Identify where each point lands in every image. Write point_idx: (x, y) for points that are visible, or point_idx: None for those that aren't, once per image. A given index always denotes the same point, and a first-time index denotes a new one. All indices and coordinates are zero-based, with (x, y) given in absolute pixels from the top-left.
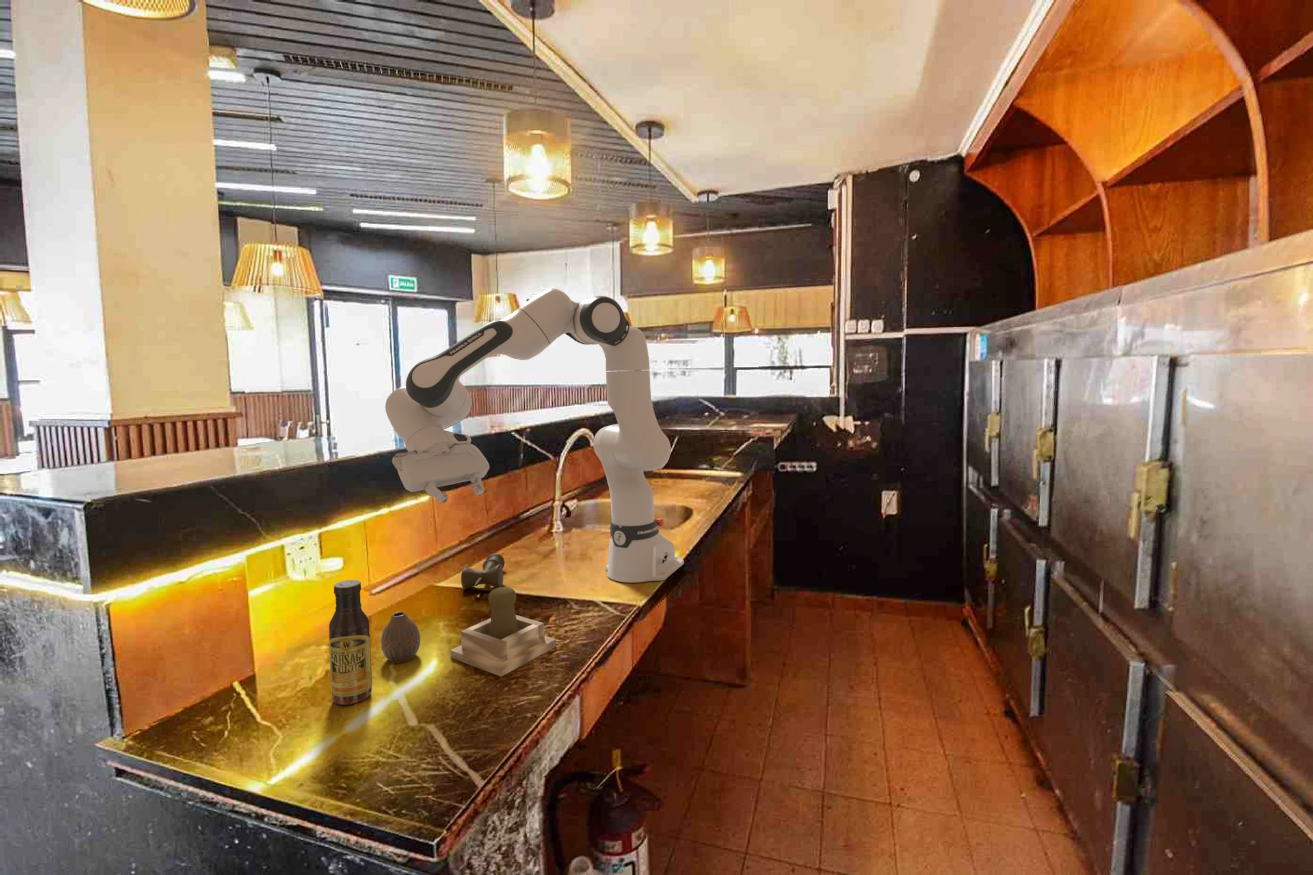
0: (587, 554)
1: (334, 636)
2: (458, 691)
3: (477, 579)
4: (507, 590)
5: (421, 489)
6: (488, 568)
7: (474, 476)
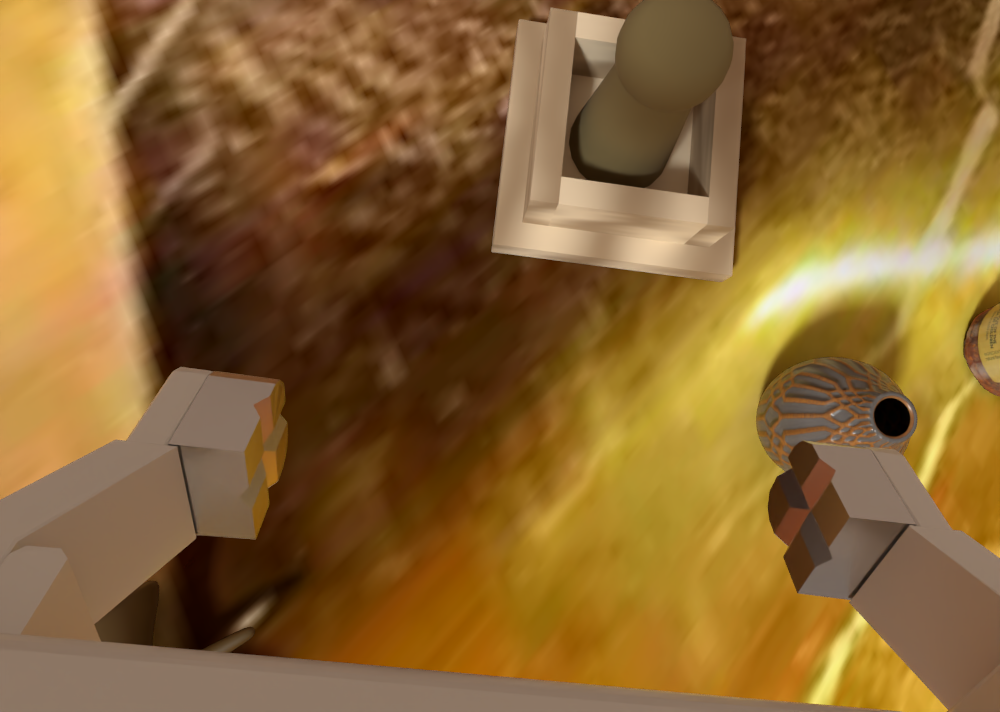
0: None
1: None
2: (842, 120)
3: None
4: (682, 1)
5: None
6: None
7: (54, 610)
